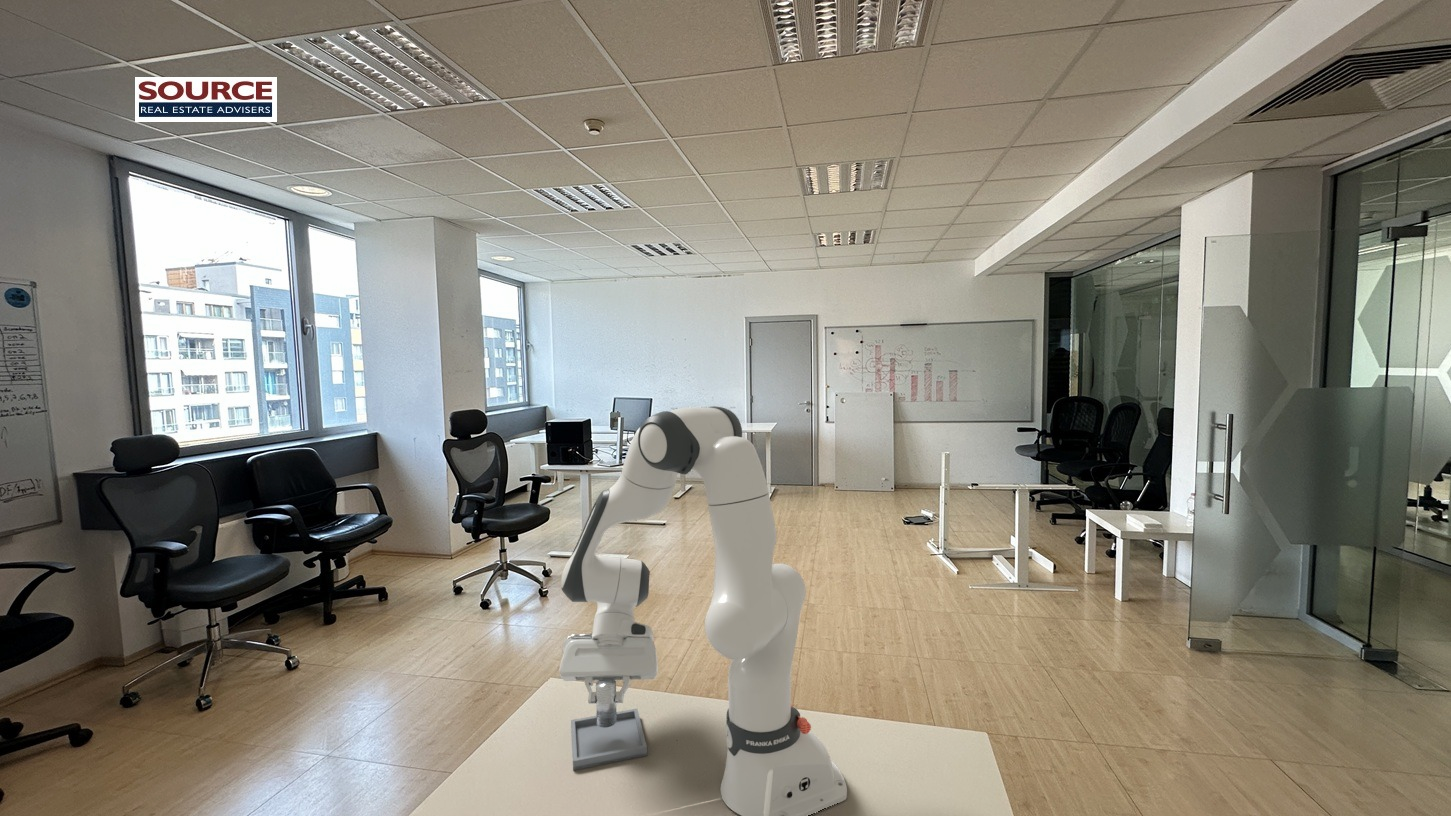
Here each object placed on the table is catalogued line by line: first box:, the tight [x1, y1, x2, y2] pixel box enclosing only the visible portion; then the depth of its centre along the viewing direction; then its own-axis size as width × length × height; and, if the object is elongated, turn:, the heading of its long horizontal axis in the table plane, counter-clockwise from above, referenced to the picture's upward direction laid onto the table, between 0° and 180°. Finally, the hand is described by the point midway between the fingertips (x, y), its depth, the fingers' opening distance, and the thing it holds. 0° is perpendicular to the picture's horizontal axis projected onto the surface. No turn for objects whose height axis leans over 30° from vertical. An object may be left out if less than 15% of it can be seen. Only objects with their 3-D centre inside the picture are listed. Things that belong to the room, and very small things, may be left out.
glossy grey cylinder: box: [595, 678, 617, 728], centre depth 116 cm, size 4×4×8 cm
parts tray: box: [570, 708, 648, 771], centre depth 117 cm, size 14×14×2 cm
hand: (605, 702), depth 116 cm, fingers closed on glossy grey cylinder, 4 cm apart
